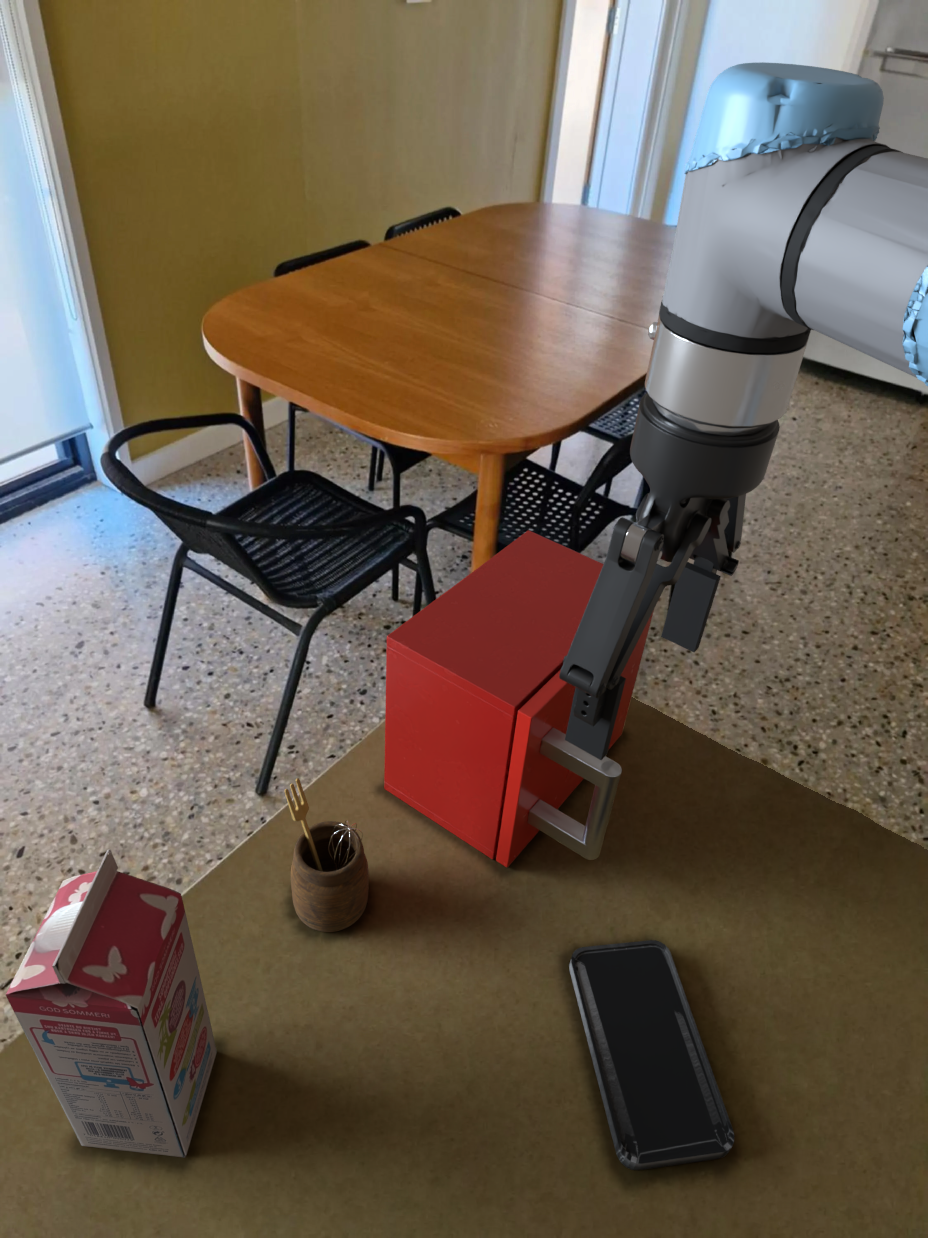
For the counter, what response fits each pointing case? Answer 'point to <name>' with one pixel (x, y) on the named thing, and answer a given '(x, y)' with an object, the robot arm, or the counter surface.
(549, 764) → the red cabinet door
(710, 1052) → the counter surface
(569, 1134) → the counter surface
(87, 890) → the juice carton
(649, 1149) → the phone
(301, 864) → the utensil holder
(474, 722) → the cabinet
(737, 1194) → the counter surface
